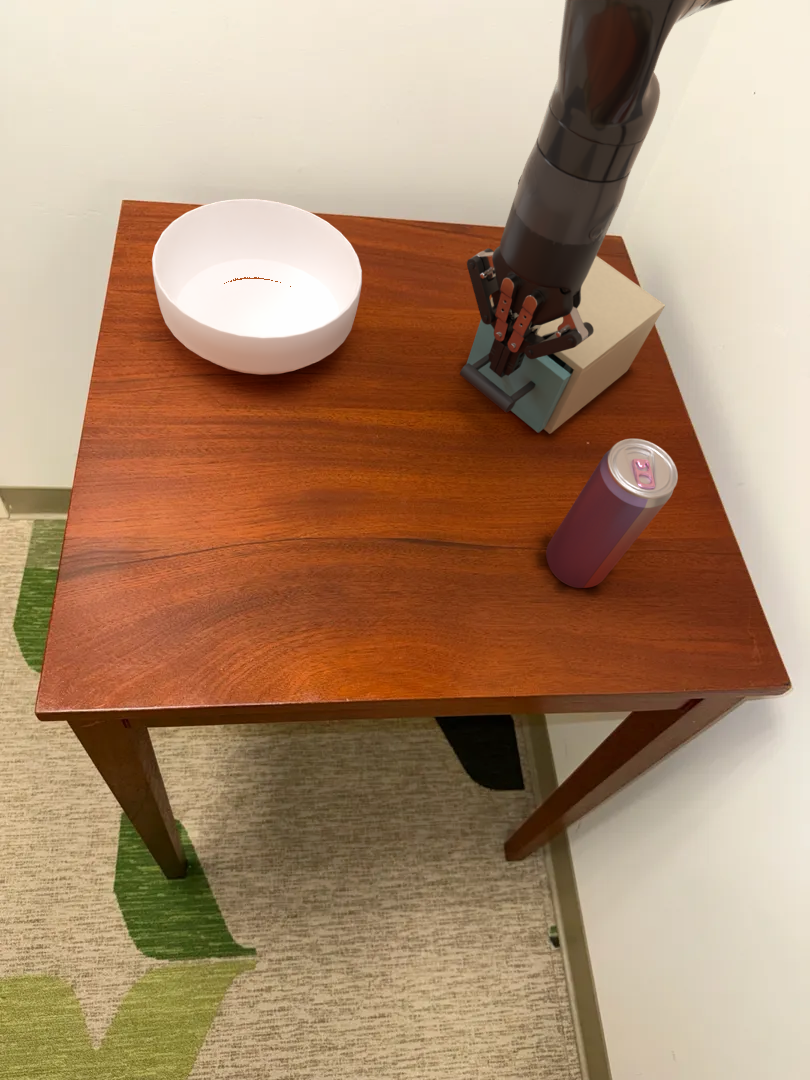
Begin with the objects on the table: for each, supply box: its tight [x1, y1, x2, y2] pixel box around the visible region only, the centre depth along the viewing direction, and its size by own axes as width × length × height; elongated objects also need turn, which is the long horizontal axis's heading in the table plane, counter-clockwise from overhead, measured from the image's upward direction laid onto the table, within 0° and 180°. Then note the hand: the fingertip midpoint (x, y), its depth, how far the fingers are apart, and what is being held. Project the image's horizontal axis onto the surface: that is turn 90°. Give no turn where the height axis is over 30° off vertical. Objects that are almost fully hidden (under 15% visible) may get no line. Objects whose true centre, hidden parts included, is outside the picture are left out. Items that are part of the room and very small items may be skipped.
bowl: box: [151, 198, 363, 375], centre depth 76 cm, size 20×20×8 cm
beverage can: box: [545, 438, 679, 589], centre depth 65 cm, size 6×6×15 cm
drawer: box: [459, 318, 574, 434], centre depth 78 cm, size 18×10×8 cm, turn 136°
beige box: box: [490, 255, 666, 434], centre depth 80 cm, size 15×12×10 cm
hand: (501, 369), depth 72 cm, fingers closed
